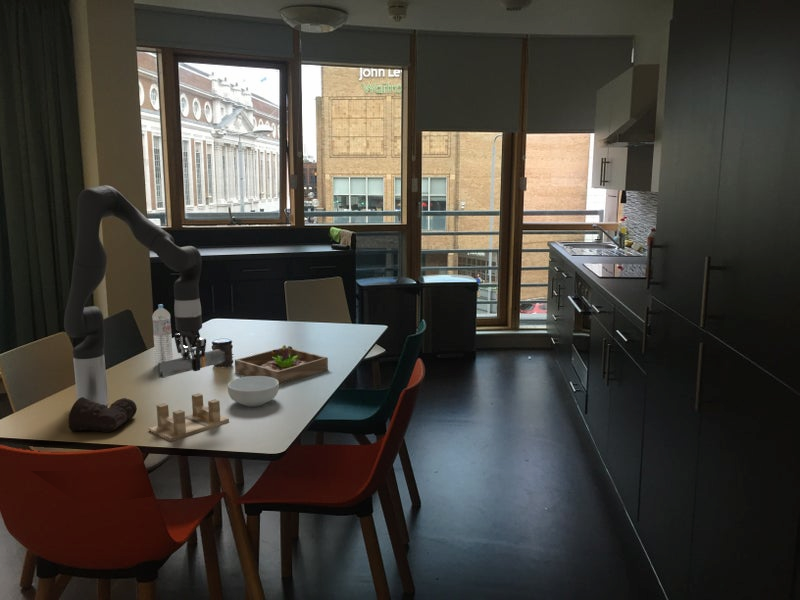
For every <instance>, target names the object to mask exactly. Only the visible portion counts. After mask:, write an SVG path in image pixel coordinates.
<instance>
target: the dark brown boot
mask: <svg viewBox="0 0 800 600" xmlns="http://www.w3.org/2000/svg"><path fill="white" fill-rule="evenodd" d="M137 408H138V407H137V405H136V403H135V401H134V400H132V399H129V398H126V397H123V398H120V399H119V398H118V399H117V400H115V401H114V402H113V403H111V404H110V406H109V407H108V406H107V405H106V406H105V405H103V404H100V403H96V402H91V401H89V400H88V399H85V398H84V397H81V398H79V399H78V400H77V399H76V401H75V402H74V404H73V405H72V407H71V409H70V412H69V414H68V420H67V421H68V422H67V423H68V425H67V426H68V429H69V430H70V431H71V432H75V431H83V432H86V431H88V432H89V431H94V432H98V431H100V432H102V433H103V432H104V433H110V432H113V431H115V430H117V429H118V428H119V427H121V426H123V424H124V423H126V422H127V421H130V420H131V419H132V418H133V417H134V416H135V415H136V413H137V410H138V409H137Z"/></svg>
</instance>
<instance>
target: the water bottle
mask: <svg viewBox="0 0 800 600" xmlns="http://www.w3.org/2000/svg"><path fill="white" fill-rule="evenodd" d="M157 306H158V308H157V309H156V310H154V312H153V314H152V316H151V319H152V327H153V344H154V345H153V346H154V360H155V366H156V367H157V365H158V363H162V362H166V361H170V360H174V352H173V351H174V350H173V337H172V335H173V334H172V327H171V326H172V324H171V313H170V312H169V311H168V310H167V309H166V308H164V304H162V303H161V304H158V305H157Z"/></svg>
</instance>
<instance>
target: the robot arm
mask: <svg viewBox="0 0 800 600" xmlns="http://www.w3.org/2000/svg"><path fill="white" fill-rule="evenodd" d="M77 199H78V200H77V211H76V213H77V218H76V219H77V223H76V224H77V227H76V229H77V230H76V239H75V240H76V241H75V251H74V255H73V256H74V257H73V263H72V264H73V265H72V276H71V283H70V290H69V295H68V299H67V304H66V307H65V311H64V317H63V327H64V331H65V333H66V335H67V336H68V337H70V338H73V339H74V338H81V337H86V338H85V339H84V340H83V341H82V342H80V343H79V344H77V345H76V346H75V347H74V348H72V359H73V361H72V362H73V369H74V379H75V381H74V382H75V389H76V391H75V392H76V401H77V400H78V399H79V398H81V397H84V398H85V399H88V400H89V401H91V402H96V403H100V404H103V405H105V406H107V405H108V404H109V399H108V398H109V397H108V382H107V371H106V369H107V368H106V361H105V346H106V341H105V340H106V339H105V319H104V315H103V312H102V310H101V308H100V307H98V306H95V305H92V306H91V305H90V306H86V305H87V301H88V300H89V298H90V297H91V295H92V294H93V293H94V292H95V291H96V290H97V288H98V287H99V286H100V284H101V283H102V281H103V280H104V278H105V276H106V272H107V271H106V270H107V263H108V255H107V254H108V253H107V251H106V250H105V247H104V245H103V243H102V241H101V239H100V227H101V223H102V220H103V218H106V217H107V218H109V217H111V216H112V217H115V218H117V219H120V220H121V221H123V222H124V223H125V224H126V225H128V227H129V229H130V230H131V233H132V235H133V236H134V238H135V239H136V240H137V241H138V242H139V243H140V244H142V245H143V246H144V247H145V248H147V249H149V250H150V251H151V252H152V253H154V254H156V256H157V257H158V259H160V260H161V261H162V263H164V265H165V266H166V267H167V268H169V269H171V270H172V271H174V272H178V273H179V278H177V279H176V280H175V281H174V284H173V294H174V309H173V310H174V318H175V319H174V322H175V329H176V331H179V333H174V335H173V337H174V343H175V347H176V350H177V353H178V354H180V355H181V356H182V358H183V357H187V356H191V355H192V367H193V370H192V371H193V372H198V371H200V370H201V368H200V358H201V357H204V356H205V352H206V349H207V348H206V347H207V339H206V338H201V334H200V330H201V329H203V319H202V306H201V300H200V288H199V284H200V283H199V282H200V277H201V273H202V272H201V271H202V266H203V265H202V264H203V260H202V254H201V252H200V251H199V249H198V248H197V247H195V246H192V245H186V246H182V247H181V246H178V245H176V244H175V239H174V237H173V236H172V235H171V234H170V233H168V232H167V231H165V230H164V229H163V228H161V227H160V226H158V225H157V224H155V223H154V222H153V221H151V220H150V219H148V217H146V216H145V215H144V214H143V213H142V212H141V211H139V209H138V208H136V206H134V205H133V204H132V203H131V202H130V201H129V200H128V199H127V198H126V197H125V196H124V195H123V194H122V193H121V192H120V191H118V189H116V188H114V187H113V186H110V185H104V184H103V185H99V186H93V187H88V188H85V189H83V190H82V191H81V192H80V194H79V196H78V198H77Z"/></svg>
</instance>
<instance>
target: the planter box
mask: <svg viewBox="0 0 800 600" xmlns="http://www.w3.org/2000/svg"><path fill="white" fill-rule="evenodd" d="M287 348H288V346H286V350H287ZM272 350H273V349H272ZM272 350H269V351H264V352H261V353H257V354H252V355H248V356H245V357H241V358H237V359H234V369H235V370H234V371H235V373H237V374H240V375H243V376H245V377H247V376H266V377H271V378H274V379H276V380H278V382H279V386H280V385H283V384H285V383H286V384H287V383H290V382H293V381H296V380H300V379H302V378H306V377H309V376H312V375H316V374H318V373H321V372H326V371H328V370H329V360H328V359H329V357H327V356H323V355H319V354H315V353H310V352H307V351H303V350H299V349H294V348H293V350H290V349H289V350H288V354H290V359H291V358H292V357H293V356H296V355H298V356H297V357H296V358H295V359H297V360H305V361H308V362H307V363H304V364H300V365H297V366H294V367H290V368H287V369H283V370H280V371H276V370H272V369H269V368H265V367H262V366H261V365H262V364H265V363H267V362H268V361H273V360H275V359H273V358H272V357H275V358H278V357H277V356H278V355H279V356H281V357H282V355H281V354H280V353H279V352H278V351H275V353H274V354H273V353H272ZM274 350H280V351H281V352H282V353H284V350H282V347H281V348H276V349H274ZM278 359H279V358H278Z"/></svg>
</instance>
